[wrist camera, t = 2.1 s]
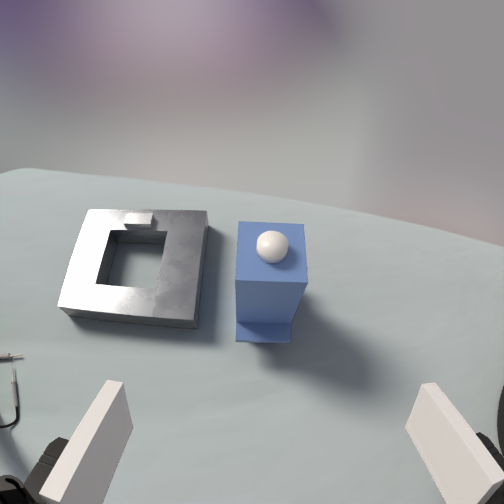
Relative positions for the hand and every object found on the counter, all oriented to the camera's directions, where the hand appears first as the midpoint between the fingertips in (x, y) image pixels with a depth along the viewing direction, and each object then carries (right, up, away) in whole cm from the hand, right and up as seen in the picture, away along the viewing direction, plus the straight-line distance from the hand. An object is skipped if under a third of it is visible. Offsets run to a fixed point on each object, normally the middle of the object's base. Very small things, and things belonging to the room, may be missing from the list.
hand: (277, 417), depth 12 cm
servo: (0, +1, +18) cm, 18 cm away
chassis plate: (-13, +5, +20) cm, 24 cm away
